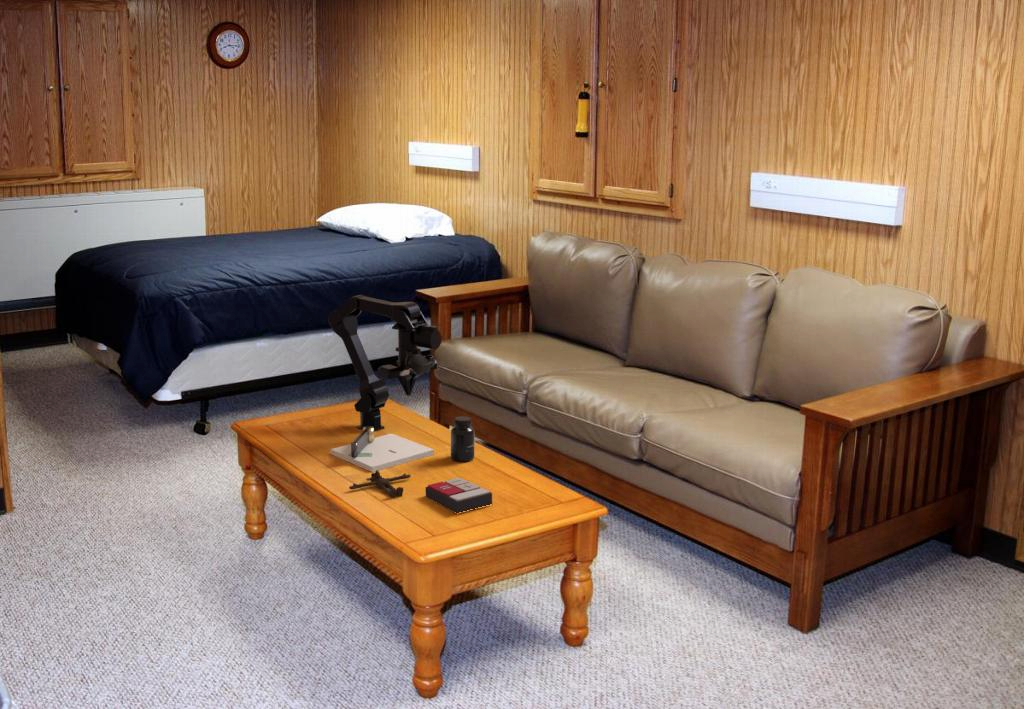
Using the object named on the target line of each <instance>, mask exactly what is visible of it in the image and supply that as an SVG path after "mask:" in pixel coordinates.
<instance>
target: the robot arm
mask: <svg viewBox="0 0 1024 709" xmlns="http://www.w3.org/2000/svg"><path fill="white" fill-rule="evenodd" d="M362 311H363V312H367V313H372V314H376V315H380V316H385V317H387V318H390V319H391V321H393V322H395V324H393V326H392V327H391V329H392V330H397V336H398V338H397V340H398V342H397V343H398V344H397V345H398V347H395V352H397V353H398V355H397V356H398V360H395V365H397V366H395V365H393V364H385V365H384V364H383V365H381V366H379V367H378V369H377V376H376V375H375V371H374V370H373V367H372V365H371V363H370V360H369V358H368V355H367V353H366V351H365V349H364V346H363V344H362V341H361V338H360V337H359V333H358V327H359V326H358V324H359V322H358V318H357V317H359V315H360V314H361V313H362ZM327 320H328V324H329V326H330V327H331V329H332V331H333V332H334V334H335V335H337V336H338V337H339V338H341V340H342V342H343V345H344V347H345V350H346V352H347V354H348V356H349V359H350V361H351V364H352V366H353V367H354V371H355V373H356V375H357V377H358V380H359V395H360V398H359V399H358V400H357V402H356V403H354V408H355V411H356V413H360V414H359V415H360V416H359V418H360V419H359V420H360V423H359V424H360V425H356V427H355V428H357V429H359V430H361V431H363V427H365V426H372V427H374V432H375V431H378V430H383V429H385V426H384V425H382V416H381V410H380V409H382V408H385V406H386V403H387V402H388V400H389V397H390V394H389V390H390V389H389V387H388V386H387V383H386V380H385V379H387V380H388V379H389V380H392V379H396V378H397V379H398V381H399V382H400V385H401V387H402V389H403V391H404V392H405V395H406V396H408V397H409V396H411V395H412V392H413V389H414V386H415V384H416V381H417V379H418V378H419V377H420V376H422V375H424V374H425V373H426V374H428V373H430V371H433V370H437V369H438V368H439V366H438V361H437V360H436V359H435V356H434V355H433V354H427V355H422V350H421V348H423V349H429V350H430V349H431V350H438V349H439V348H440V346H441V344H442V338H443V337H442V335H441V332H440V330H438V326H437V325H429V322H428V321H427V320H426V317H425V316H424V314H423V313H422V311H421V309H420V306H419V304H418V303H417V302H414V301H402V302H392V301H387V300H383V299H378V298H374V297H369V296H366V295H363V294H359V295H353V296H352V297H350V298H349V299H348V300H347V301H346V302H345V303H343V304H342V305H340V306H339V307H337V308H336V309H335V310H334V309H333V310H332V311H331V310H330V313H329V314H328V317H327ZM378 376H379V377H382V378H380V379H379V377H378ZM384 378H385V379H384Z"/></svg>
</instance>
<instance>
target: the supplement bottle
mask: <svg viewBox="0 0 1024 709" xmlns="http://www.w3.org/2000/svg"><path fill="white" fill-rule="evenodd" d="M453 424H454V426H453V427H452V428H451V430H450V458H451V460H452V461H454V462H458V463H467V462H471V461H473V460H474V458H475V446H476V445H475V443H476V442H475V441H476V440H475V439H476V437H475V435H476V432H475V429H474V427H472V418H471V417H469V416H456V417H454V423H453Z"/></svg>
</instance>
